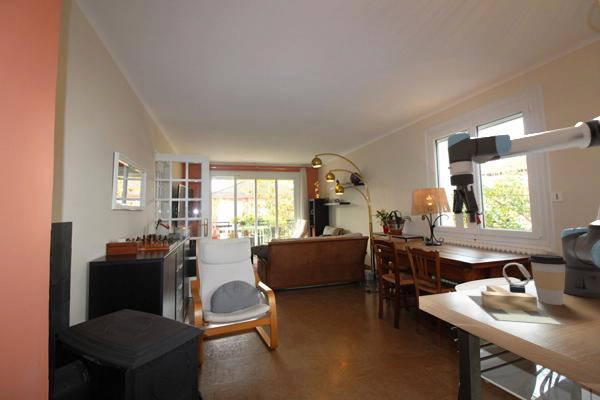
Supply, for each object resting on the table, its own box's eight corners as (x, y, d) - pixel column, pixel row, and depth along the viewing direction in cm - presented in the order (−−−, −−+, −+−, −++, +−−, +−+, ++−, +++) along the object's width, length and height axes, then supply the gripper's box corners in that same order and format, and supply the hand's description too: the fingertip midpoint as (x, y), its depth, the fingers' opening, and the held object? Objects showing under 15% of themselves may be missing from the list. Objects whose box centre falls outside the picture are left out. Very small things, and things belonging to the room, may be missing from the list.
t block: (515, 298, 92) (515, 286, 93) (537, 311, 80) (536, 297, 80) (472, 296, 96) (471, 284, 96) (486, 308, 83) (486, 294, 84)
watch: (533, 298, 93) (530, 265, 94) (503, 294, 98) (501, 263, 99) (531, 294, 98) (529, 263, 99) (504, 290, 103) (502, 261, 103)
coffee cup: (579, 307, 83) (575, 257, 84) (548, 307, 84) (544, 258, 84) (551, 298, 93) (548, 253, 94) (523, 298, 93) (520, 254, 94)
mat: (520, 299, 92) (520, 298, 92) (568, 326, 69) (568, 325, 69) (467, 296, 97) (467, 295, 97) (495, 321, 74) (495, 320, 74)
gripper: (441, 179, 116) (445, 229, 114) (461, 169, 92) (466, 233, 90) (461, 178, 114) (465, 229, 112) (486, 168, 90) (492, 232, 88)
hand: (466, 231), depth 101 cm, fingers open, 13 cm apart
